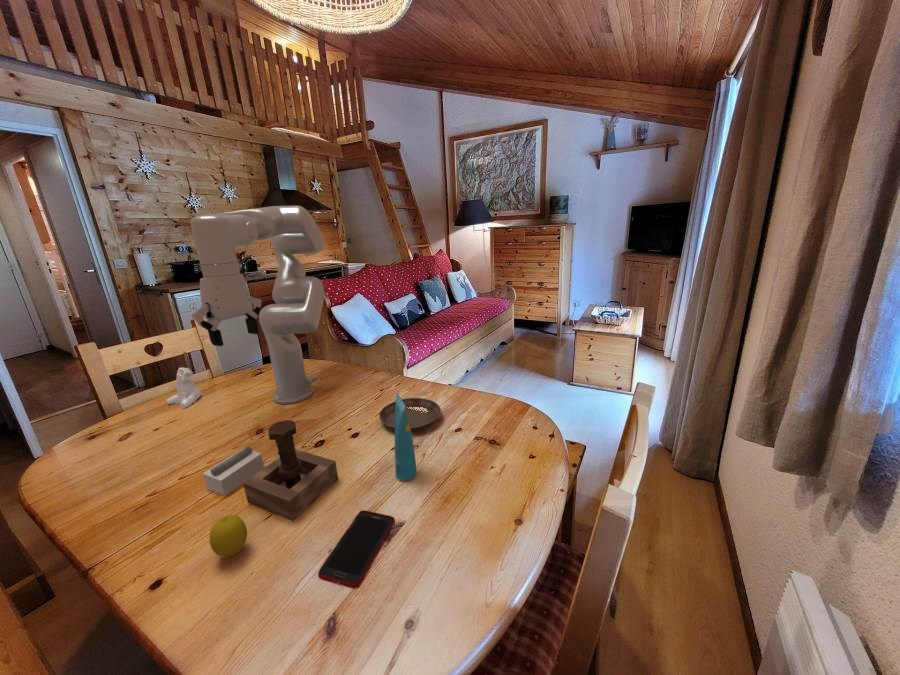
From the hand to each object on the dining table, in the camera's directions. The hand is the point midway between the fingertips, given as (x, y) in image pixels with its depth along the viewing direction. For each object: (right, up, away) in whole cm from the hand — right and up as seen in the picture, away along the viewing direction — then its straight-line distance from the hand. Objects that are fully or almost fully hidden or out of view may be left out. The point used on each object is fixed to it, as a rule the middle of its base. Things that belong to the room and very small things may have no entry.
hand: (236, 339), depth 91 cm
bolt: (+20, -32, -12) cm, 40 cm away
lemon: (+15, -38, -26) cm, 49 cm away
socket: (+20, -33, -12) cm, 40 cm away
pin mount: (+4, -32, -7) cm, 33 cm away
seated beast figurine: (-34, -21, +30) cm, 50 cm away
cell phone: (+37, -38, -25) cm, 59 cm away
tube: (+44, -31, -8) cm, 54 cm away
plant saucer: (+42, -24, +15) cm, 51 cm away
